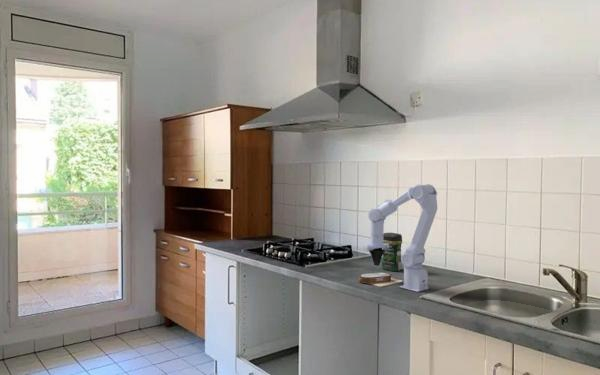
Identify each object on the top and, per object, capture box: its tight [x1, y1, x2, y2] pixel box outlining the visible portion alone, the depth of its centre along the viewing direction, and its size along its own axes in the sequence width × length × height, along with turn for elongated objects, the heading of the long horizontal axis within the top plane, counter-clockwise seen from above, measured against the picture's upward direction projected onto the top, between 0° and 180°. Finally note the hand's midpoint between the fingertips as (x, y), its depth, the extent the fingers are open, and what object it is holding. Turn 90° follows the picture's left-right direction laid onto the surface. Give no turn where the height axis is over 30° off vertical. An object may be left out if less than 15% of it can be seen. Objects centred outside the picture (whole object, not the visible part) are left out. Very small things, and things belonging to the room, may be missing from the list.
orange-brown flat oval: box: [358, 272, 392, 284], centre depth 194 cm, size 15×3×8 cm
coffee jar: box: [381, 232, 403, 272], centre depth 218 cm, size 10×8×19 cm
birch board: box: [366, 277, 404, 288], centre depth 193 cm, size 10×15×1 cm, turn 129°
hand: (376, 265), depth 196 cm, fingers closed
